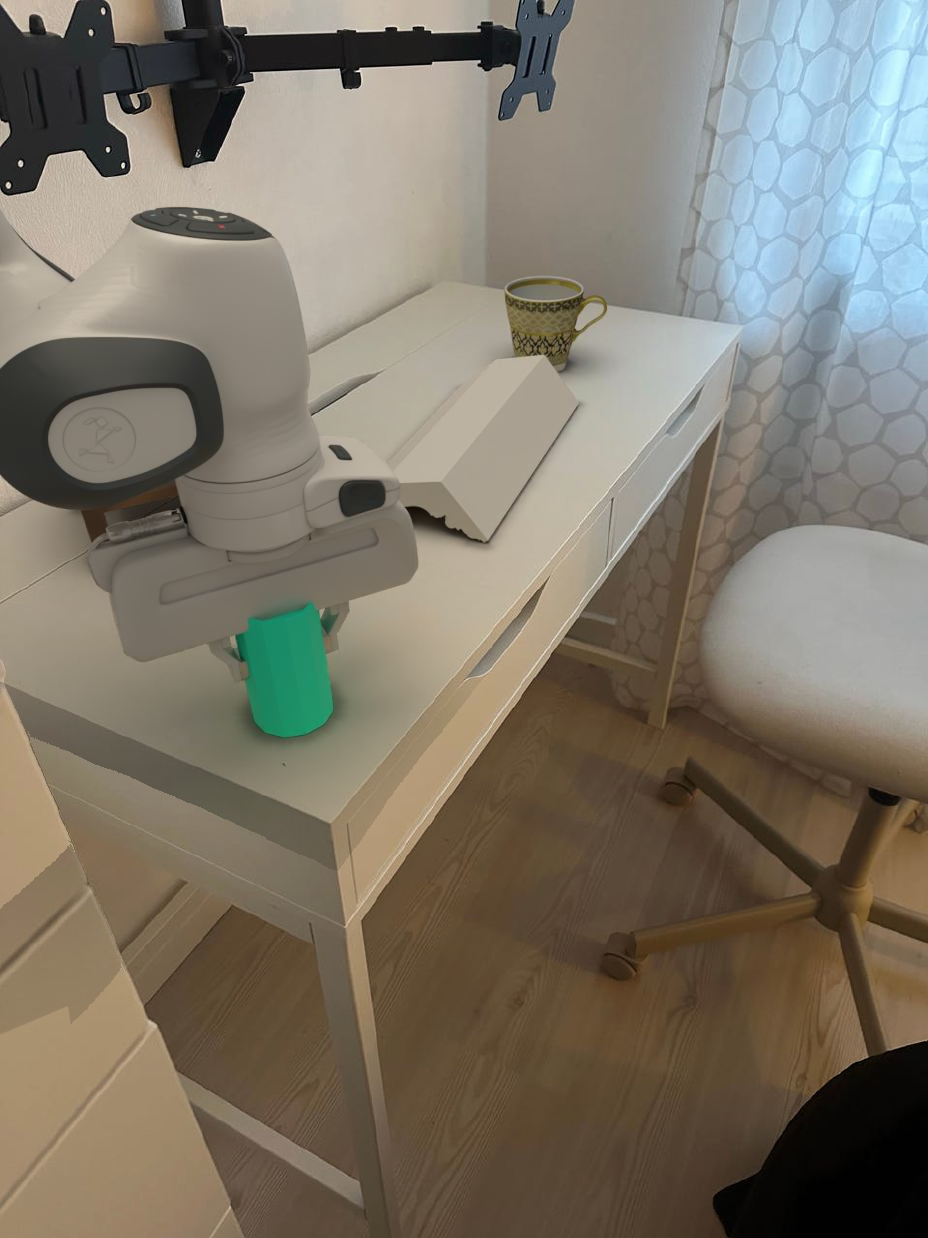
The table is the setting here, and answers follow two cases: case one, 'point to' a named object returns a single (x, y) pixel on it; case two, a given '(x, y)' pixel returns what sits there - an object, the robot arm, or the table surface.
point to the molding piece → (484, 444)
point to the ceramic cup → (546, 316)
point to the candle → (287, 672)
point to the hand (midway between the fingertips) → (285, 661)
